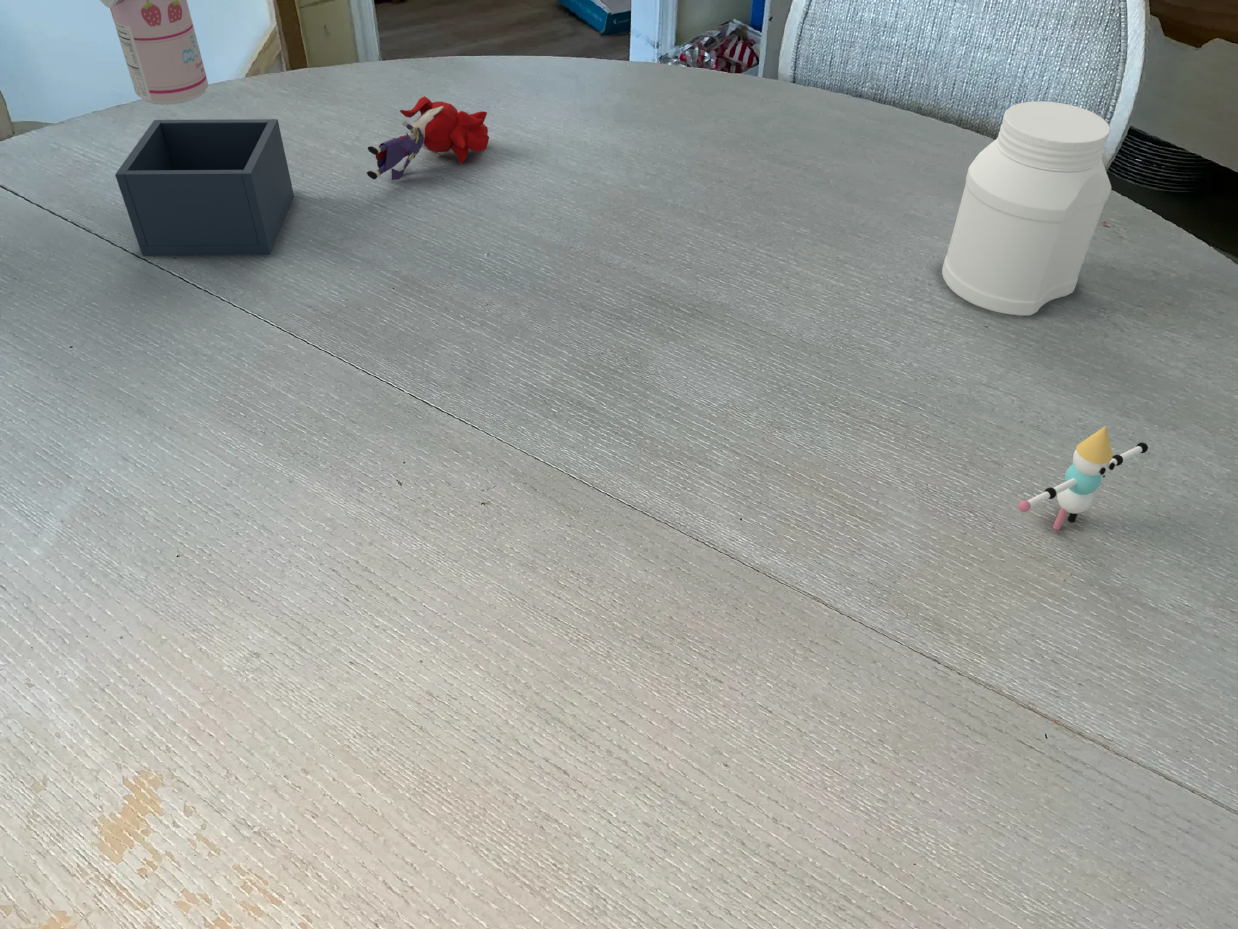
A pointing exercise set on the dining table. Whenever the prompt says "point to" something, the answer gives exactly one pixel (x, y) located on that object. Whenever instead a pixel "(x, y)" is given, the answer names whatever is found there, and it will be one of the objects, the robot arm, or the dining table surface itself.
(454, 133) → the figurine
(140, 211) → the bin
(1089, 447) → the toy figure
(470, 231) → the dining table surface
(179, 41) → the beverage can
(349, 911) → the dining table surface
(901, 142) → the dining table surface
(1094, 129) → the jar
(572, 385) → the dining table surface
